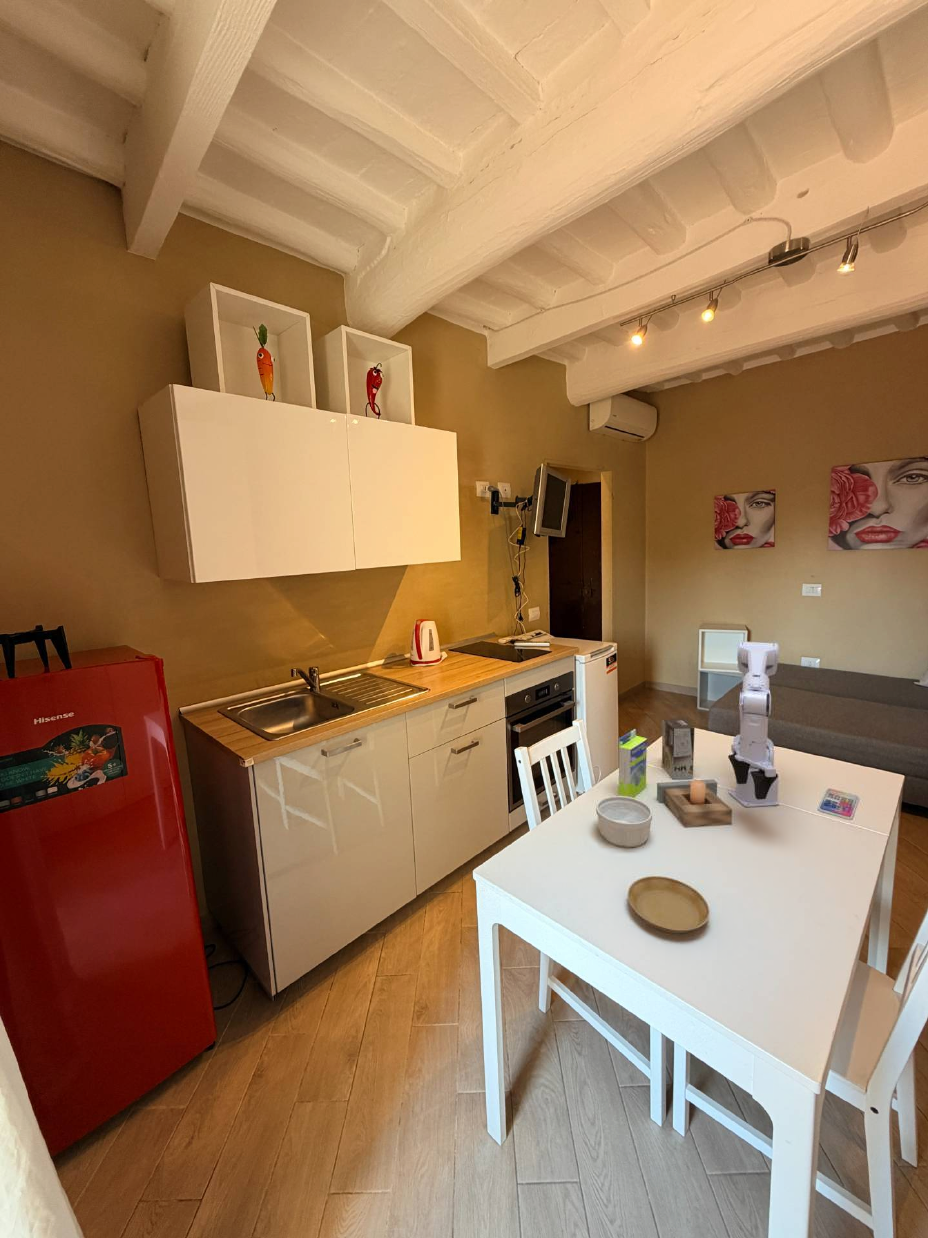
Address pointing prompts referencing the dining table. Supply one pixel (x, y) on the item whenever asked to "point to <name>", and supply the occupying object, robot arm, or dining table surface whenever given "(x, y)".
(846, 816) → the smartphone
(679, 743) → the coffee box
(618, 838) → the ramekin
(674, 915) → the plant saucer
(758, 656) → the robot arm
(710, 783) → the wall
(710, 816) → the socket block
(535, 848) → the dining table surface
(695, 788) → the dowel
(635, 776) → the box
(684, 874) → the dining table surface
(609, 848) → the dining table surface
